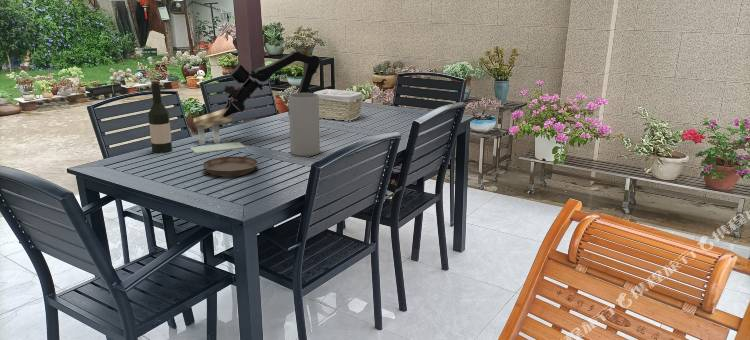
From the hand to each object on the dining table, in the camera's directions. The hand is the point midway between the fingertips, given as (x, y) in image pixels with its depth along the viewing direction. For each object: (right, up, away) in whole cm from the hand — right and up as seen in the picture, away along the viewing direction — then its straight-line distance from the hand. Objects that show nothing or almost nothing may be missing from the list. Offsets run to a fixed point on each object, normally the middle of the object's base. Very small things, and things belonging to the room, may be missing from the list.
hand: (223, 115), depth 254 cm
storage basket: (+48, +4, +59) cm, 76 cm away
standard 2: (-4, -12, +4) cm, 13 cm away
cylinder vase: (+39, -18, -13) cm, 45 cm away
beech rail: (-4, -4, +2) cm, 6 cm away
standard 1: (-10, -12, +2) cm, 16 cm away
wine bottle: (-23, -17, -13) cm, 31 cm away
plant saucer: (+13, -25, -38) cm, 48 cm away
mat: (0, -15, -7) cm, 17 cm away
